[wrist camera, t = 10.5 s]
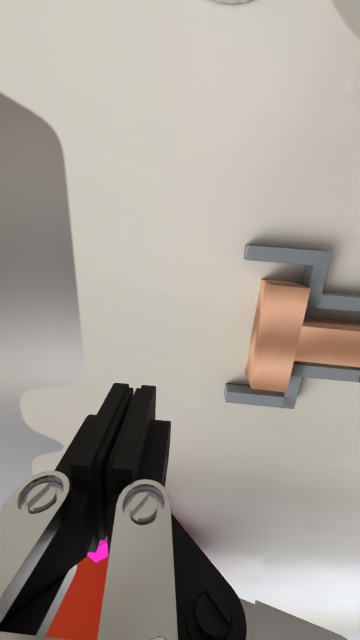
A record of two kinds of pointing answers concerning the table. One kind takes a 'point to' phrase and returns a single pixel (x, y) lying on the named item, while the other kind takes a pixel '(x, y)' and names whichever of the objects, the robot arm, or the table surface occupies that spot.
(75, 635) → the file binder
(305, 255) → the T outline
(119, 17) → the table surface
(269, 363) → the T block
